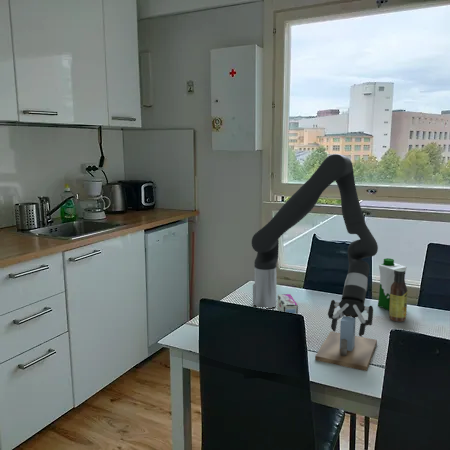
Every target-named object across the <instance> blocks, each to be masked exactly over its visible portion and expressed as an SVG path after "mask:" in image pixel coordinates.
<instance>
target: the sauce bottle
mask: <svg viewBox="0 0 450 450" xmlns="http://www.w3.org/2000/svg"><path fill="white" fill-rule="evenodd" d="M405 276H406V271H405V270H403V269H395V270H394V282H393V284H392V285H391V291H390V307H389V310H388V311H389V312H388V316H389V319H390V320H391V321H393V322H398V323H399V322H400V323H402V322H405V321H406V320H407V319H406V318H407V313H408V312H407V308H408V293H409V291H408V287H407V283H406V281H405V280H406V278H405Z"/></svg>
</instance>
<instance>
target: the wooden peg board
mask: <svg viewBox="0 0 450 450" xmlns="http://www.w3.org/2000/svg"><path fill="white" fill-rule="evenodd" d="M377 343H378V340H377V339H376V338H375V339H374V338H368V337H363V336H362V337H361V336H358V335H355V344H354V348H353V350H352V351H348V350H347V340H346V339H341V349H340V332H336V331H335V332H334V331H329V334H328V335H327V337H326V338H325V340H324V341H323V343H322V344H321V346H320V347H319V349H318V351H317V353H316V354H315V356H314V357H315V358H314V361H317V362H322V363H327V364H332V365H336V366H341V367H345V368H350V369H353V370H360V371H363V372H367V371H368V370H369V369H368V368H369V366H370V363H371V361H372V358H373V355H374V353H375V349H376V346H377V345H378V344H377Z"/></svg>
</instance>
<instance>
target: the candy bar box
mask: <svg viewBox="0 0 450 450" xmlns="http://www.w3.org/2000/svg"><path fill="white" fill-rule="evenodd" d="M276 307H277V309H276V310H277V311H283V312H289V313H295V314H298V313H299V311H298V309H299V305H298V303H297V302H296V301H295V299H294V298H293V296H292V294H291V293H287V294H285V293H283V294H277V303H276Z"/></svg>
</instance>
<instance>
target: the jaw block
mask: <svg viewBox="0 0 450 450" xmlns="http://www.w3.org/2000/svg"><path fill="white" fill-rule="evenodd" d="M356 318H357V317H355V318H353V317H346V316H345V315H344V316H343V317H342V318H340V327H339V328H340V329H339V331H340V332H339V333H340V349H341V339H346V340H347V350H348V351H352V350H353V348H354V344H355V336H356V321H357V319H356Z"/></svg>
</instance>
